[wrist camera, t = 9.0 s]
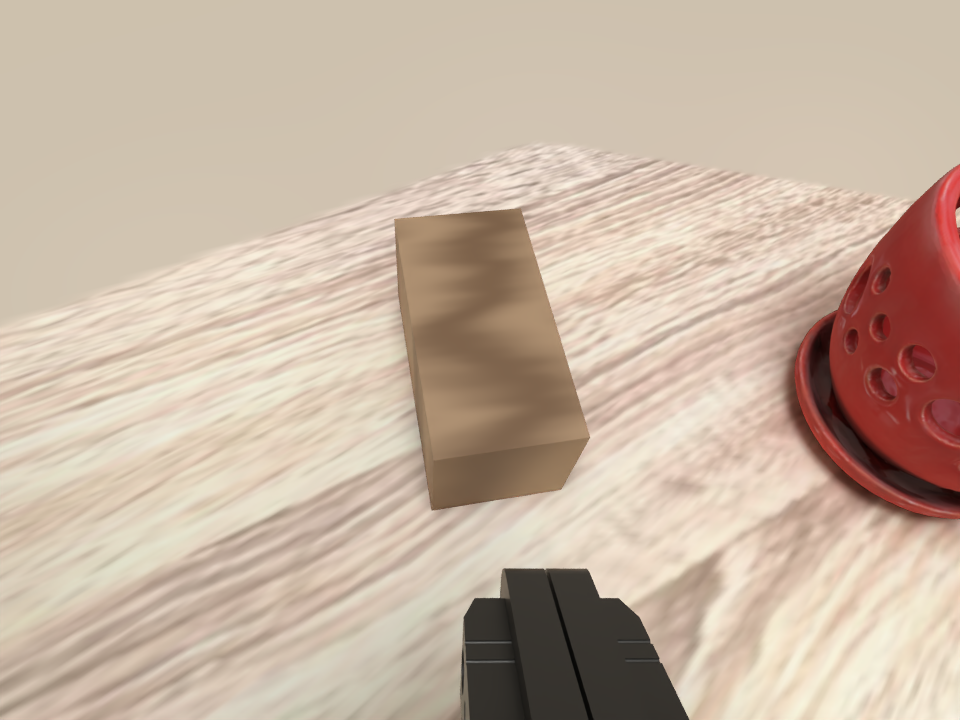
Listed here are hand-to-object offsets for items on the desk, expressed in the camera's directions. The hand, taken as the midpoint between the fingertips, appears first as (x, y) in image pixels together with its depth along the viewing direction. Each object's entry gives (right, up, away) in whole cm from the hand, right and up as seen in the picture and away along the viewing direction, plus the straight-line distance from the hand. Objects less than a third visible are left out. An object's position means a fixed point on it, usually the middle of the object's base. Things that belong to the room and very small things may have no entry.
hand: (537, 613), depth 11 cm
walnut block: (0, 0, +15) cm, 15 cm away
